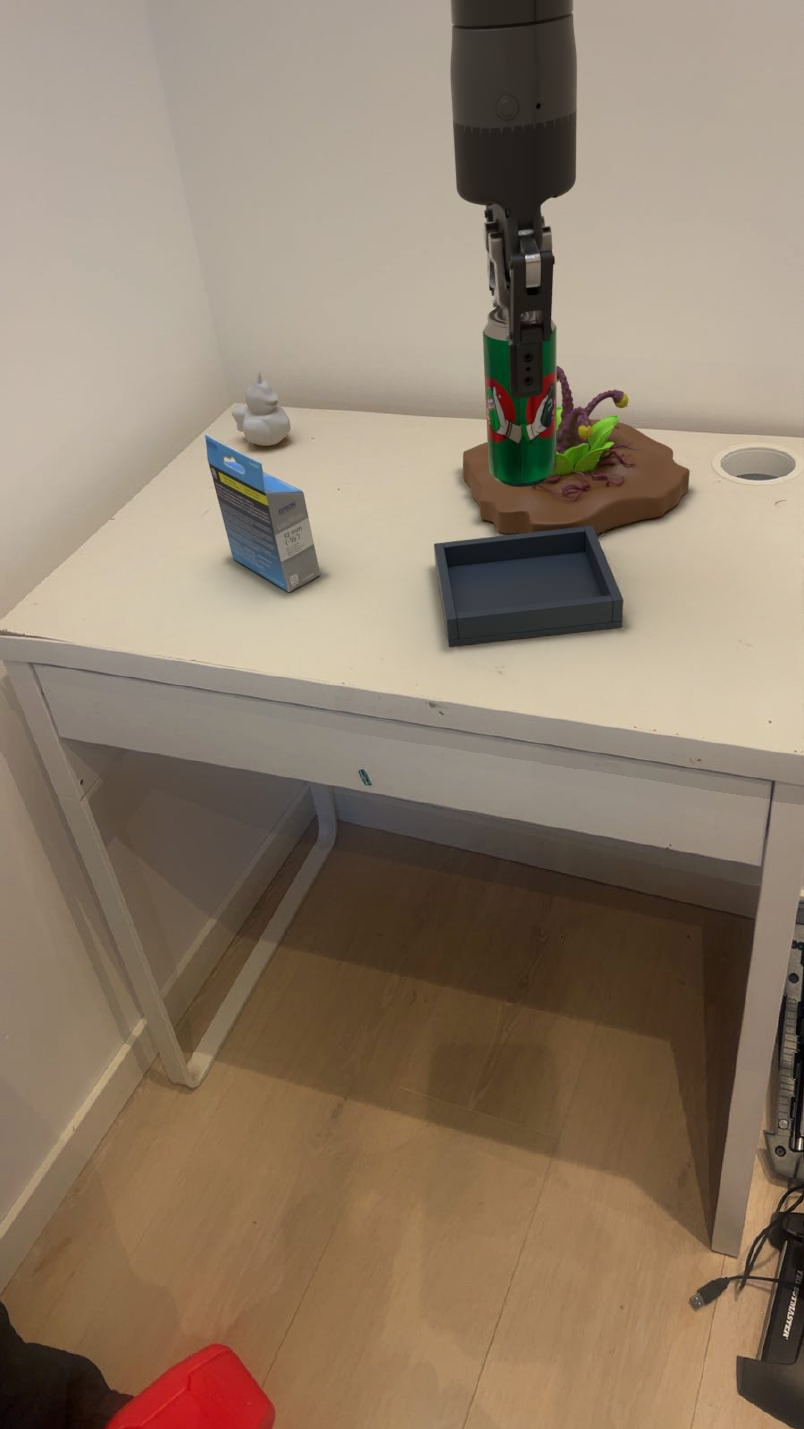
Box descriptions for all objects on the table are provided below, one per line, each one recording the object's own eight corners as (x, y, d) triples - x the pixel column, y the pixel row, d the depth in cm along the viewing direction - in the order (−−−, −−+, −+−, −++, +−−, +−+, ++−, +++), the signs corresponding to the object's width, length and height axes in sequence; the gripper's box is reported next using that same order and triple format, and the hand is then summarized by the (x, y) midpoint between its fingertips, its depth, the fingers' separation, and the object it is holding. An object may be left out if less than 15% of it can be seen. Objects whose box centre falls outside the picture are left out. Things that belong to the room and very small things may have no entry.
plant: (607, 424, 109) (611, 317, 102) (718, 501, 94) (731, 382, 87) (432, 472, 104) (423, 362, 97) (520, 560, 90) (517, 439, 83)
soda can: (555, 457, 80) (555, 298, 72) (557, 489, 76) (557, 324, 68) (490, 460, 81) (483, 303, 73) (487, 491, 77) (480, 328, 69)
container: (592, 551, 90) (592, 525, 88) (622, 627, 81) (623, 599, 79) (435, 569, 90) (433, 543, 88) (448, 646, 81) (446, 619, 79)
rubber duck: (280, 455, 111) (267, 382, 105) (226, 450, 113) (211, 379, 108) (302, 433, 114) (290, 362, 109) (249, 429, 116) (236, 359, 111)
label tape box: (322, 576, 91) (300, 445, 83) (285, 595, 89) (259, 463, 81) (264, 543, 96) (239, 417, 88) (228, 561, 94) (199, 434, 87)
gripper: (600, 122, 57) (593, 415, 68) (554, 82, 68) (555, 339, 79) (465, 138, 57) (479, 428, 68) (441, 95, 69) (457, 350, 79)
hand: (520, 378), depth 74 cm, fingers closed on soda can, 5 cm apart
